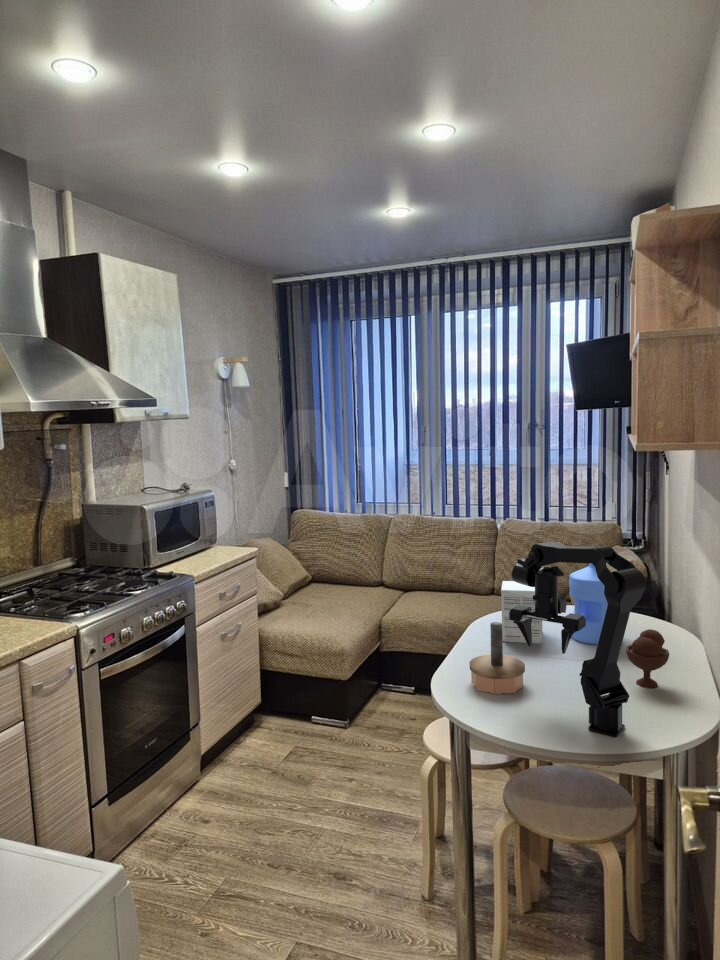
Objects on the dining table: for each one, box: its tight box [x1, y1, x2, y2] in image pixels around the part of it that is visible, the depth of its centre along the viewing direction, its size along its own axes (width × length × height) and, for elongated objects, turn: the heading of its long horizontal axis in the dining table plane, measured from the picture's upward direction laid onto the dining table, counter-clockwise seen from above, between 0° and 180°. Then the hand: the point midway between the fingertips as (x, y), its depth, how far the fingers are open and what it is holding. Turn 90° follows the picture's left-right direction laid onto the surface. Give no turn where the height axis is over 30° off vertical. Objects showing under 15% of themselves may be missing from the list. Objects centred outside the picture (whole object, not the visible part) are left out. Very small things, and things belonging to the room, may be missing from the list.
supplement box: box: [500, 580, 543, 645], centre depth 218 cm, size 13×13×18 cm
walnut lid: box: [469, 621, 526, 679], centre depth 178 cm, size 15×15×13 cm
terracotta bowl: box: [470, 670, 524, 695], centre depth 179 cm, size 13×13×4 cm
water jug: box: [568, 563, 608, 646], centre depth 214 cm, size 16×16×28 cm
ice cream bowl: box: [625, 629, 670, 689], centre depth 175 cm, size 11×11×15 cm
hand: (546, 649), depth 168 cm, fingers open, 9 cm apart
